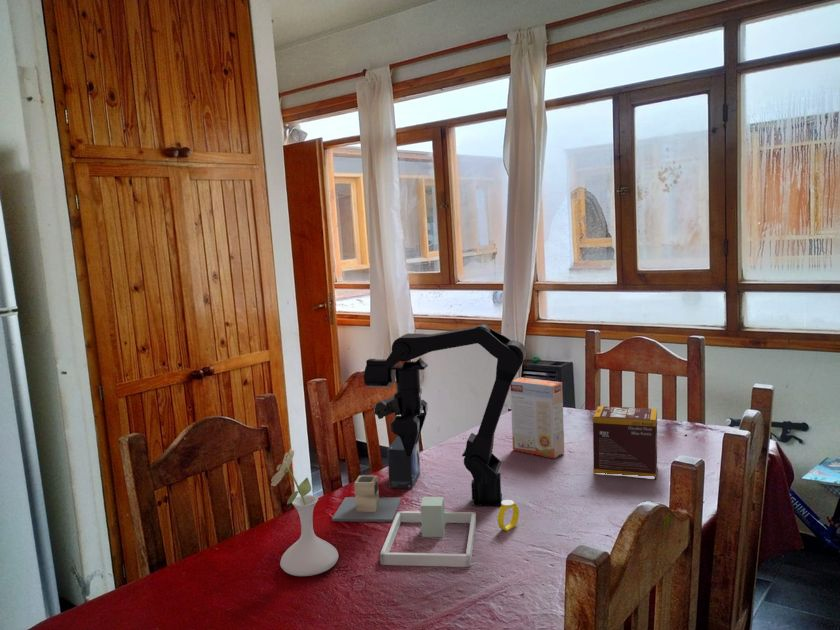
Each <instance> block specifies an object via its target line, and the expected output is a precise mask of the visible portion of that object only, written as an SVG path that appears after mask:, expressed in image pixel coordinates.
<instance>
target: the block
mask: <svg viewBox="0 0 840 630" xmlns="http://www.w3.org/2000/svg"><path fill="white" fill-rule="evenodd" d="M445 509H446V508H445V497H444V496H422V500H421V503H420V511H421V522H420V523H421V536H422V538H444V535H445V532H446V523H445V512H446V511H445Z"/></svg>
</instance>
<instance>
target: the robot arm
mask: <svg viewBox="0 0 840 630" xmlns="http://www.w3.org/2000/svg"><path fill="white" fill-rule="evenodd" d="M475 344H478V345H480V346H481V347H482V348H484V350H486V351H487V352H488V353H489V354H490V355H491V356H492V357H494V358H496V359H497V361H496V368H495V380H494V383H493V386H492V389H491V392H490V394H489V395H490V396H489V399H488V401H487V405H486V407H485V411H484V413H483V416H482V420H481V422H480V425H479V429H478V432H477V433H476V434H475V433H473V432H471V433H470V435H469V437H468V438H467V440H466V446H465V449H464V451H463V452H462V455H461V457H464V458H463V465H464V467H465V469H467V471H468V472H470V474H471V476H472V478H473V479H471V485H470V486H471V499H472V501H473V506H477V507H478V506H484V507H485V506H486V507H487V506H488V507H489V506H490V507H491V506H492V507H493V506H495V507H496V506H497V507H499V506H500V507H502V506H501V502H502V501H503V493H502V480H501V479H502V477H501V476H502V475H501V472H499V470H500V468H501V464H502V461H501V460H500V459H499V458H498V457H497V456H496V455H495V454H493V452H494V451H493V449H494V440H495V433H496V430H497V428H498V424H499V421H500V418H501V415H502V412H503V409H504V406H505V403H506V400H507V397H508V394H509V391H510V389H511V383H512V381H513V380H515V377H516V375H517V374H518V372H519V370H520V368H521V367H522V365H523V363H524V361H525V359H526V356H527V349H526V347H525V344H523V343H522V342H520V341H518V340H513V339H512V340H511V339H510V338H508V337H507V336H506V335H504V334H502V333H500V332H498V331H495V330H494V329H493V328H491V327H489V326H488V325H487V324H483V323H481V324H478V325H476V326H470V327H465V328H459V329H454V330H448V331H443V332H438V333H431V334H430V333H429V334H426V333H405V334H403V335H401V336H400V337H398V338H396V339H395V340H394V341H393V343H392V345H391V352H390V354H389V355H388V357H387V358H386V359H377V358H368V359H367V360H365V361H366V365H365V369H364V374H363V382H364V385H365V387H366V388H390V387H391V386H392V384H394V383H396V384H395V385H396V392H395V393H394V394H393V396H390V397H388V398H387V399H386V398H385V399H384V400H381V401H378V402H376V403H375V405H374V406H373V410H374V412H373V414H374V415H375V416H376V417H377V418H378V419H379V420H380V419H383V418H384V417H387V416H390V415H392V414H394V416H395V417H394V418H393V420H392V421H391V423H390V432H391V433H393V434H394V435H396V436H397V437H400V438H401V441H402V444H403V447H404V450H405V453H406V456H408V457H409V456H411V455H412V452H413V449H414V446H415V444H417V442H418V439H419V438H420V435H421V433H422V429H423V427H424V426H423V425H424V423H425V420H426V417H427V414H428V410H429V409H428V402H426V401H425V400H424V399H422V393H423V389H422V388H421V379H420V377H421V376H420V371H423V370H425V369H426V368H427V367H429V366H428V363H426V362H425V361H424V360H423V359H422V358H421V356H423V355H426V354H428V353H431V352H436V351H443V350H446V349H452V348H453V349H454V348H458V347H459V348H460V347H464V346H465V347H466V346H470V345H475ZM416 358H418V359H417V360H416V361H415V360H414V361H411V360H413V359H416ZM399 362H403V364H398V363H399ZM422 411H423V412H422ZM419 440H420V439H419Z"/></svg>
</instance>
